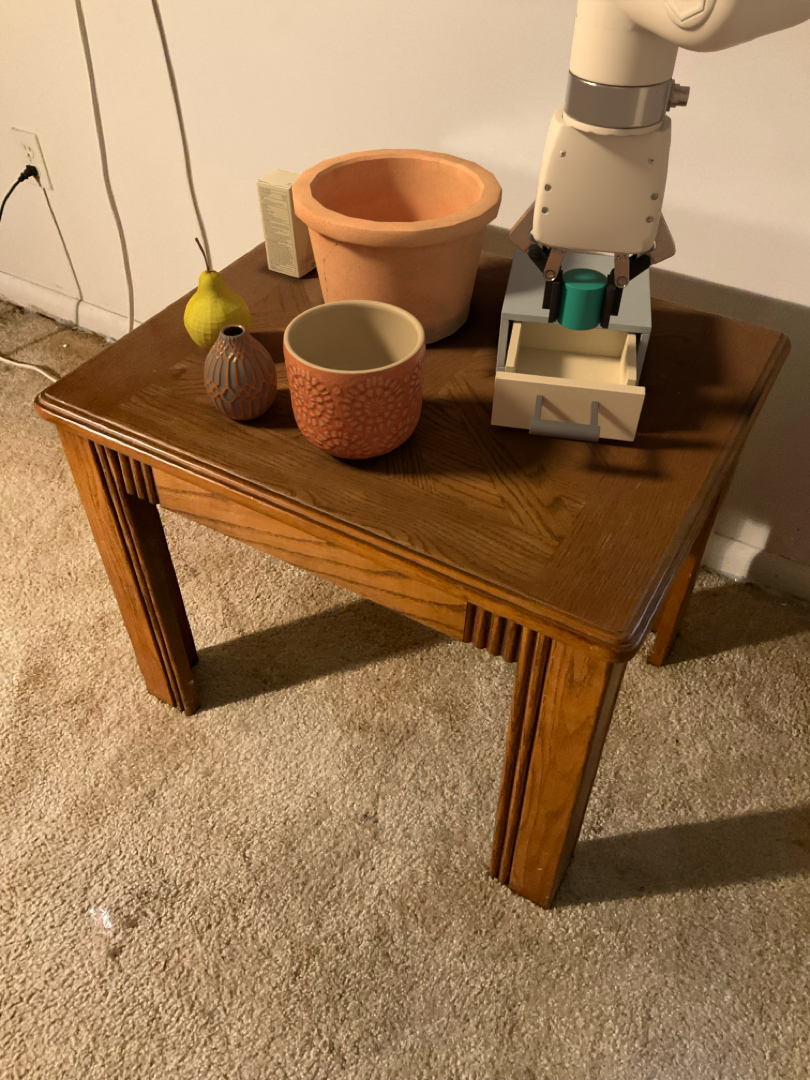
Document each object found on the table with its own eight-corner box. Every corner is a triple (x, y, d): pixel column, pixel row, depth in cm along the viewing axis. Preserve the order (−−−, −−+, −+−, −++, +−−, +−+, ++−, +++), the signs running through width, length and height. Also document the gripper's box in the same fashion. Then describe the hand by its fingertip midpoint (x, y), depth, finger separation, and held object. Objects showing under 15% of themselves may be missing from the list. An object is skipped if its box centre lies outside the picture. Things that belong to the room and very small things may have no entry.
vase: (245, 438, 78) (232, 359, 72) (195, 412, 81) (179, 334, 75) (295, 405, 82) (286, 326, 76) (245, 381, 85) (233, 304, 79)
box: (320, 266, 103) (313, 176, 95) (299, 279, 101) (290, 188, 93) (286, 255, 105) (277, 167, 97) (265, 269, 103) (254, 178, 95)
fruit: (264, 355, 88) (250, 248, 80) (205, 373, 86) (183, 265, 77) (239, 327, 93) (223, 223, 84) (181, 343, 90) (159, 237, 82)
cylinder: (600, 310, 76) (608, 270, 73) (599, 333, 73) (607, 291, 70) (557, 306, 76) (563, 266, 73) (554, 328, 73) (560, 287, 71)
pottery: (497, 362, 87) (510, 231, 77) (292, 360, 88) (277, 229, 78) (487, 268, 103) (496, 148, 93) (312, 266, 103) (302, 146, 93)
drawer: (633, 477, 73) (646, 429, 69) (484, 458, 75) (488, 410, 71) (632, 363, 86) (643, 318, 82) (505, 350, 88) (509, 305, 84)
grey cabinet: (637, 388, 84) (651, 327, 79) (495, 373, 86) (501, 312, 81) (635, 317, 94) (649, 259, 89) (509, 305, 96) (515, 247, 91)
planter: (388, 492, 73) (387, 388, 65) (268, 454, 76) (254, 351, 69) (443, 417, 81) (448, 316, 73) (333, 386, 84) (326, 287, 77)
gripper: (726, 91, 63) (670, 307, 76) (509, 77, 65) (491, 290, 78) (735, 123, 58) (674, 350, 71) (499, 107, 60) (481, 330, 73)
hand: (578, 316), depth 74 cm, fingers closed on cylinder, 4 cm apart
